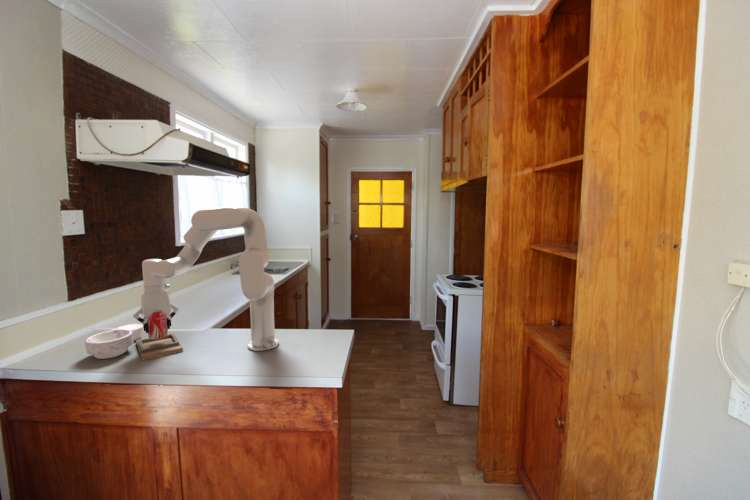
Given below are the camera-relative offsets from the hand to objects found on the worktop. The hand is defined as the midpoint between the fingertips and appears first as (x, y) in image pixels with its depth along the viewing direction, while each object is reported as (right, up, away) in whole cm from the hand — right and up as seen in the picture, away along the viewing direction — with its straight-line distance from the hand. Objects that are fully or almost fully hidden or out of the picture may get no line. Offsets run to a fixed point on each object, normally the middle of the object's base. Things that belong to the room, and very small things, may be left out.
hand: (157, 329), depth 146 cm
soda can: (0, -3, 0) cm, 3 cm away
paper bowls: (-15, -9, -6) cm, 18 cm away
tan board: (0, -8, +1) cm, 8 cm away
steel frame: (0, -6, +1) cm, 6 cm away
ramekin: (-20, -7, +11) cm, 23 cm away
